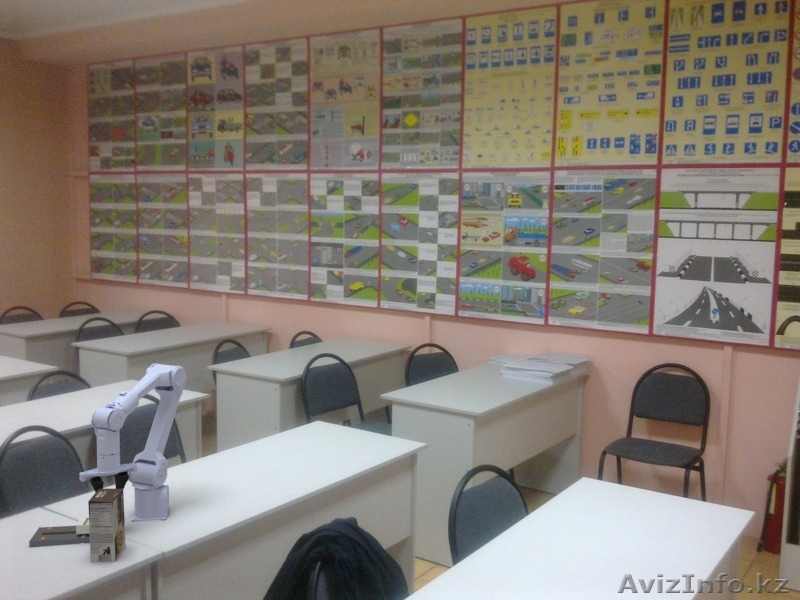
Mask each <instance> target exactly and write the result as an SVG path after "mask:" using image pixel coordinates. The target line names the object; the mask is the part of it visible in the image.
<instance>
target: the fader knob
mask: <svg viewBox="0 0 800 600" xmlns="http://www.w3.org/2000/svg"><path fill="white" fill-rule="evenodd" d="M75 526H76V534H90V531H89V517H80V518H79V520H78V521H77V523H76V525H75Z"/></svg>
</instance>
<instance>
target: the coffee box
mask: <svg viewBox="0 0 800 600" xmlns="http://www.w3.org/2000/svg"><path fill="white" fill-rule="evenodd" d="M124 497H125V496H124V489H116V488H103V489H98V491H97V492H96V493H93V495H92V496H91V498H90V499H89V500H88V503H87V504H88V518H89V531H90V543H89V551H90V553H89V554H90V564H92V563H93V564H95V562H96V563H115V562H117V561H118V560H119V558H120V557H121V555H122V553H123V552H124V551H125V549H126V528H125V527H126V525H125V522H126V521H125V520H126V519H125V499H124Z"/></svg>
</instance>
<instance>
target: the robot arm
mask: <svg viewBox="0 0 800 600" xmlns="http://www.w3.org/2000/svg"><path fill="white" fill-rule="evenodd" d="M187 379H188V376H187V373H186V370H185V368H184V367H183V366H182V365H172V364H170V365H169V364H162V363H157V362H155V363H152V364H151V365H150V366H149V367H147V368H146V370H145V375H144V376H143V377H142V378H141V379H140V380H139V381H138V382H137V383H136V384H135V385H134V386H133V387H132V388H131V389H130V390H121V391H120V392H119V394H118V395H117V396H116V397H115V398H114V399H113V400H111V401H110V402H108V404H106V406H105V407H104V406H103V407H101V406H100V407H99V408H97V409H96V410H95V411H94V412H93V414H92V417H91V419H90V423H91V426H92V427H93V429H94V434H95V436H96V462H97V463H96V465H97V466H96V468H91V469H90V470H85V471H81V472H79V481H80V482H82V483H83V482H86V481H89V482H90V484H91V486H92V487H93V490H94V492H95V493H96V492H97V491H98V489H104V485H105V482H104V481H103V479H102V478H104V477H105V478H106V477H110V476H114V484H115V489H123V490H124V489H125V486H126V484H127V482H128V481H129V482H130V483H132V484H131V485H132V487H133V488H134V490H133V491H134V513H133V515H132V518H131V522H144V521H145V522H146V521H149V522H150V521H166V520H167V519H168V515H169V513H170V507H171V506H170V487H169V485H167V484H165V482H166V480H167V478H168V466H169V464H170V463H169V461H168V460H167V458H166V457H165V456H164V452H165V448H166V447H167V446H166V445H167V442H168V440H169V436H170V434H171V433H170V432H171V429H172V425H173V423H174V420H175V415H176V412H177V410H178V407H179V403H180V399H181V396H183V391H184V389H185V385H186V382H187ZM153 390H154V392H155V393H156V394H158V396H159V398H160V399H159V402H158V405H157V409H156V412H155V415H154V417H153V418H154V419H153V421H152V425H151V428H150V430H149V434H148V437H147V441H146V443H145V446H144V449H143V450H142V451H140V452H139V453H137V454H136V455H135V456H134V458H133V461H132V463H131V462H129V463H122V464H121V446H120V445H121V444H120V443H121V441H120V440H121V437H120V436H121V435H120V430H121V429H122V428H123V427H124V423H125V421H126V420H127V418H128V416H129V415H130V414H131V413H132V412H133V411H135V410H136V409H137V408H138V407H139V405H140V400H141V399H142V398H144V397H146V395H147V394H149V393H150V392H151V391H153ZM95 493H94V494H95Z"/></svg>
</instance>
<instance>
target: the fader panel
mask: <svg viewBox="0 0 800 600" xmlns="http://www.w3.org/2000/svg"><path fill="white" fill-rule="evenodd" d="M28 543H29V547H30V548H32V547H34V548H35V547H50V546H67V545H68V546H69V545H79V544H81V543H84V544H90V534H76V525H63V526H62V525H60V526H40V527H38V529H37V530H36V531H35V532H34V534H33V535H32V537H31V538H30V540H29V541H28Z"/></svg>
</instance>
